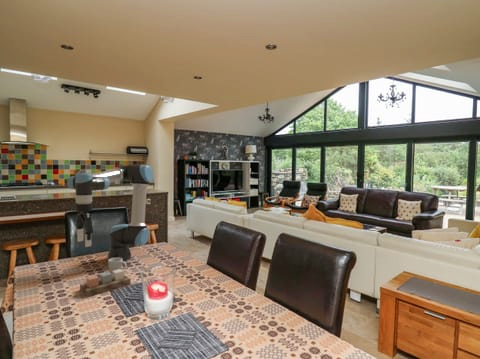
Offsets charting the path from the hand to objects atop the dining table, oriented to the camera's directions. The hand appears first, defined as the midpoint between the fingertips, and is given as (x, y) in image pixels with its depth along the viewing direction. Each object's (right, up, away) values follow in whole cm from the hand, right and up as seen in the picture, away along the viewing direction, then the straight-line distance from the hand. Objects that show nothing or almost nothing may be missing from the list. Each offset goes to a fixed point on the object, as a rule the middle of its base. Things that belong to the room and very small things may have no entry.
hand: (84, 243), depth 148 cm
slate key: (+11, -20, +1) cm, 23 cm away
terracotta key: (+6, -21, -4) cm, 22 cm away
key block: (+11, -23, +1) cm, 25 cm away
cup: (+8, -22, +21) cm, 32 cm away
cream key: (+15, -20, +5) cm, 26 cm away
